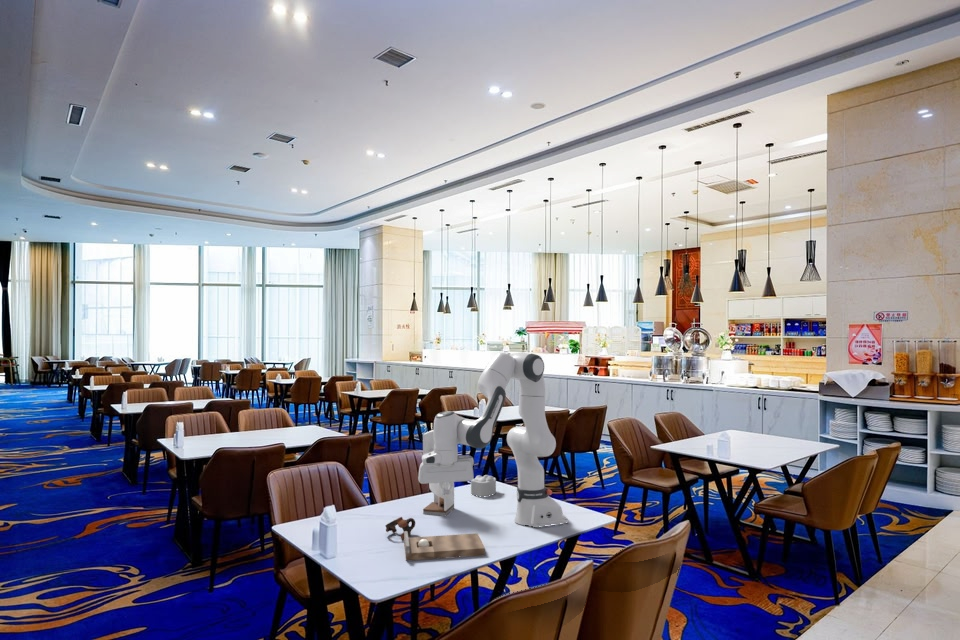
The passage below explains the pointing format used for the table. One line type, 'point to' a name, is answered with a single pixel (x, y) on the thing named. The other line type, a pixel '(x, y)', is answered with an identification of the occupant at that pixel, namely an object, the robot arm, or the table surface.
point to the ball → (423, 543)
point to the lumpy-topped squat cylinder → (483, 485)
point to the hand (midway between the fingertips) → (446, 494)
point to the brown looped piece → (401, 526)
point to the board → (443, 546)
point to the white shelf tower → (437, 485)
